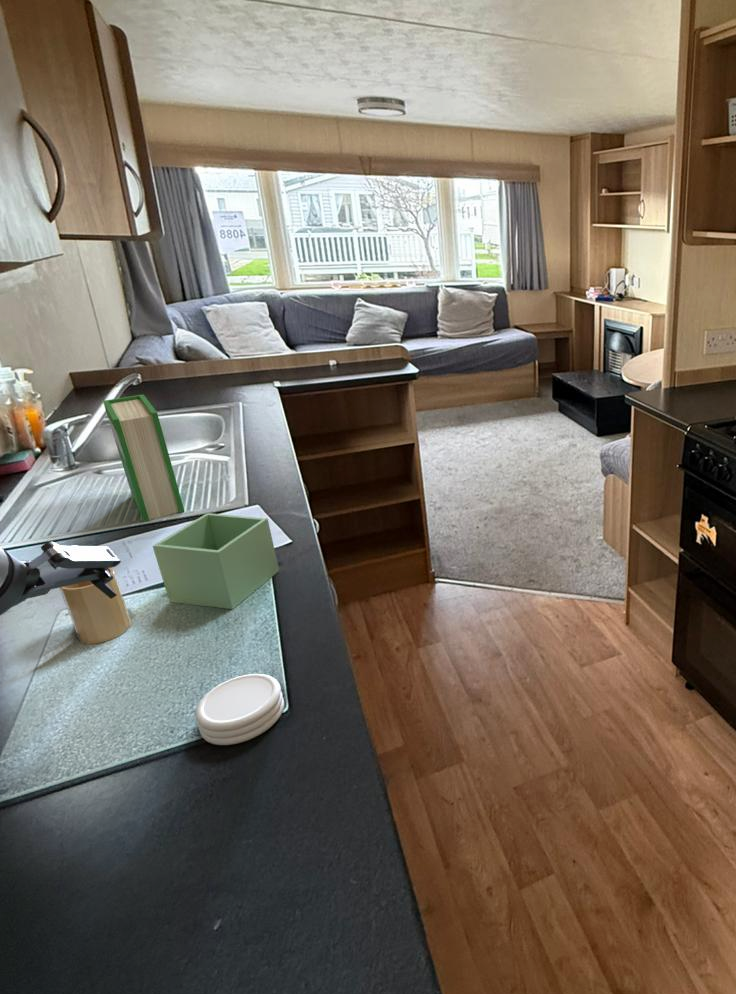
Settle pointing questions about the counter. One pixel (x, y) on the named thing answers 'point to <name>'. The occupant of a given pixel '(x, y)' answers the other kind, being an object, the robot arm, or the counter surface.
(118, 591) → the tan hollow cylinder
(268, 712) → the coaster
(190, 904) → the counter surface
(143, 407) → the hardback book
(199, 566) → the bin
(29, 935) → the counter surface
